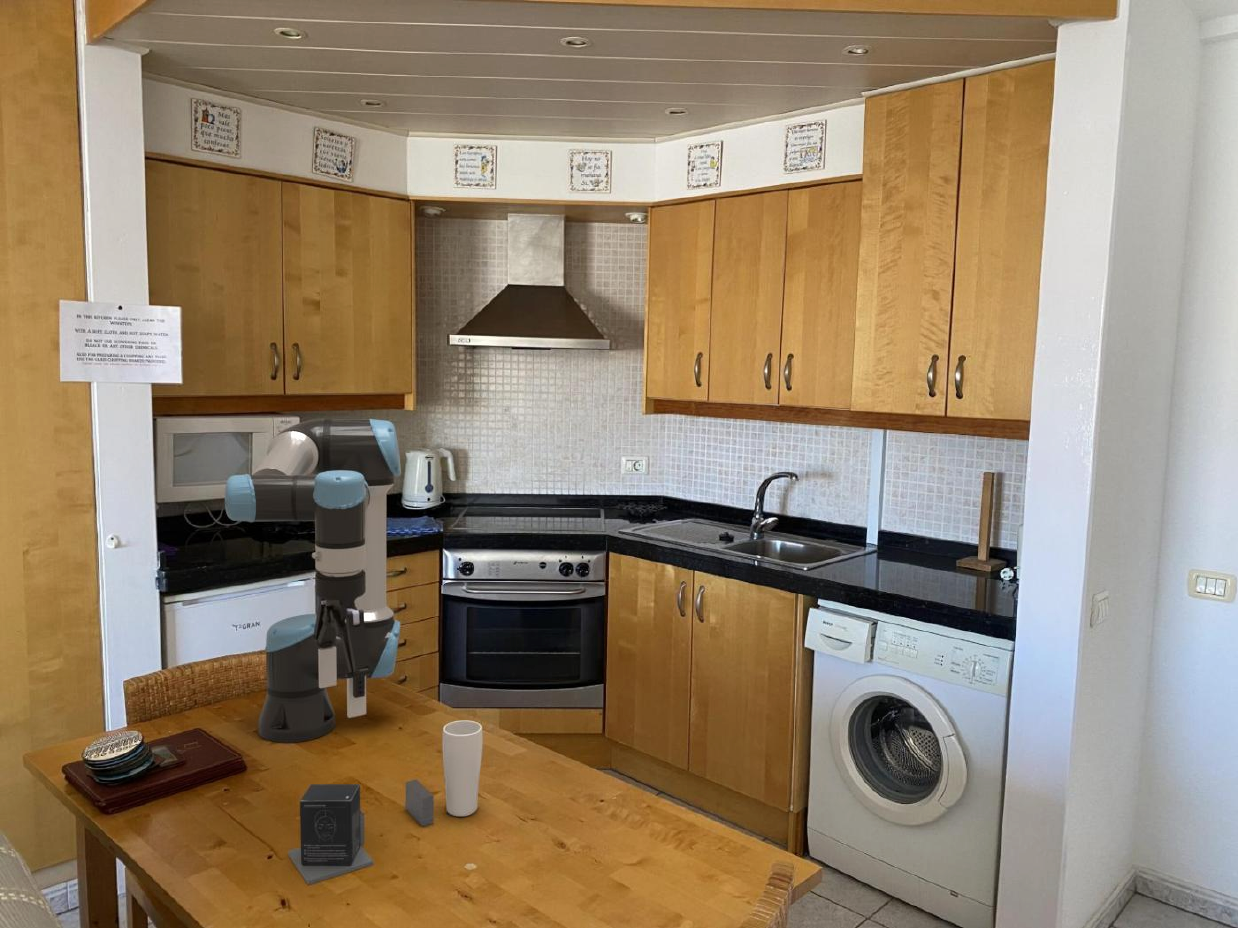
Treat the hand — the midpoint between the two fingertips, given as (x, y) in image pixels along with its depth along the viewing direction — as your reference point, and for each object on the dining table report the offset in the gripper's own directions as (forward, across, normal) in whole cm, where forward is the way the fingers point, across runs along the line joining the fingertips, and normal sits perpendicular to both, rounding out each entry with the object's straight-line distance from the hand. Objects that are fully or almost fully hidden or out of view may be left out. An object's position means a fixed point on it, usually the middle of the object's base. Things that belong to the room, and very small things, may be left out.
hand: (341, 700), depth 146 cm
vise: (+23, +1, +5) cm, 24 cm away
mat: (+23, +6, -4) cm, 24 cm away
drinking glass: (+24, +2, +20) cm, 31 cm away
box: (+23, +6, -4) cm, 24 cm away
